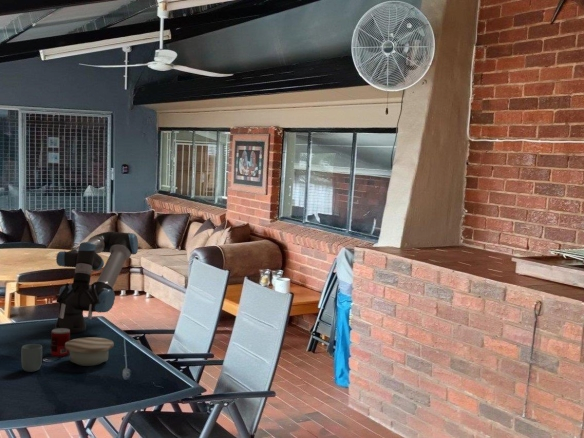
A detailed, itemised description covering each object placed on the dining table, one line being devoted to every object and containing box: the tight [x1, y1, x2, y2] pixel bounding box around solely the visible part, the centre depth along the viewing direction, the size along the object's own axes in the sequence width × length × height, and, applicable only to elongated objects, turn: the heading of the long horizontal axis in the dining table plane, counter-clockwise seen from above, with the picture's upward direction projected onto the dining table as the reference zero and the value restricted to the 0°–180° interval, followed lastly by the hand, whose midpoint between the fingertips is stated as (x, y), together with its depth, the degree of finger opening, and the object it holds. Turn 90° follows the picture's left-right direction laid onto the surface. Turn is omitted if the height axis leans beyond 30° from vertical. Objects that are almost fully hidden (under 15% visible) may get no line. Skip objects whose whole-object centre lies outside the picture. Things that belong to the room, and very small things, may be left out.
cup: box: [20, 343, 43, 373], centre depth 270 cm, size 8×8×10 cm
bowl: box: [69, 349, 110, 367], centre depth 285 cm, size 16×16×7 cm
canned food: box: [50, 328, 71, 358], centre depth 293 cm, size 8×8×11 cm
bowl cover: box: [65, 336, 114, 353], centre depth 284 cm, size 20×20×1 cm
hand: (75, 318), depth 307 cm, fingers open, 13 cm apart
